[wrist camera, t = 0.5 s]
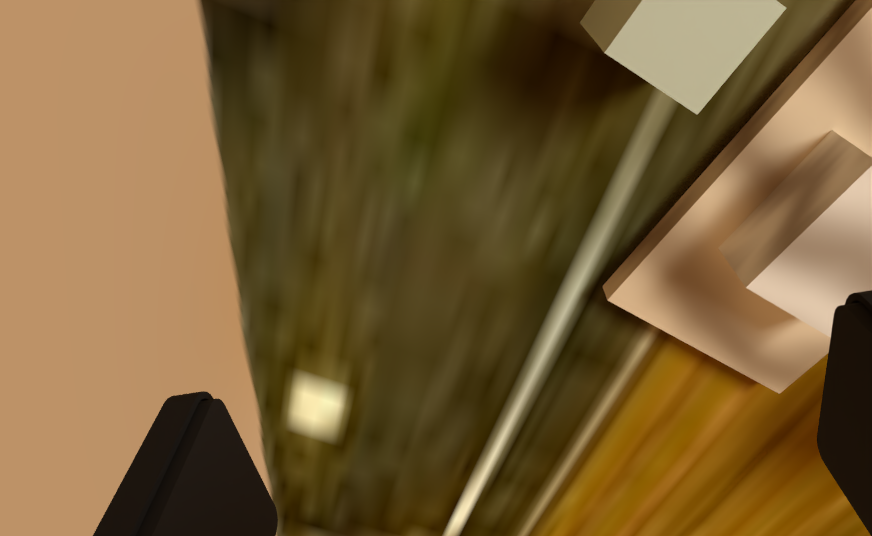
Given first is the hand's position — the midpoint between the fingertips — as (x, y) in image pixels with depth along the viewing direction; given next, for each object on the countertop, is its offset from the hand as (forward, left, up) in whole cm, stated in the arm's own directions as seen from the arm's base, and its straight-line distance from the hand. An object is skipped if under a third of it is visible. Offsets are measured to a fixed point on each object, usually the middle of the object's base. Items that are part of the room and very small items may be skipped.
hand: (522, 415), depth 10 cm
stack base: (-2, +21, -26) cm, 33 cm away
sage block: (-6, +6, -26) cm, 27 cm away
